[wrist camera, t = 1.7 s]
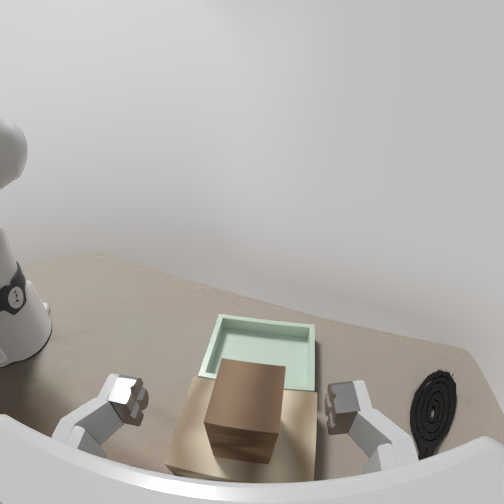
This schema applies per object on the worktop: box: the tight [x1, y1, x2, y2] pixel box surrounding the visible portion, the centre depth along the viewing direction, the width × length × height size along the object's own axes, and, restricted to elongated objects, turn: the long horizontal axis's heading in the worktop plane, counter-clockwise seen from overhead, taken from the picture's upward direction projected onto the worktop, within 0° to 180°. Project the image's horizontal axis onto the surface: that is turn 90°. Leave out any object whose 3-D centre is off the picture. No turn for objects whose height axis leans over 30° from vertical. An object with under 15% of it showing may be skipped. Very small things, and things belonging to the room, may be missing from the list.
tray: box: [198, 314, 315, 392], centre depth 42 cm, size 16×13×3 cm
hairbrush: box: [410, 369, 456, 460], centre depth 27 cm, size 8×4×25 cm
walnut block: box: [204, 358, 286, 464], centre depth 25 cm, size 6×7×10 cm
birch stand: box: [164, 377, 317, 483], centre depth 29 cm, size 16×13×5 cm
